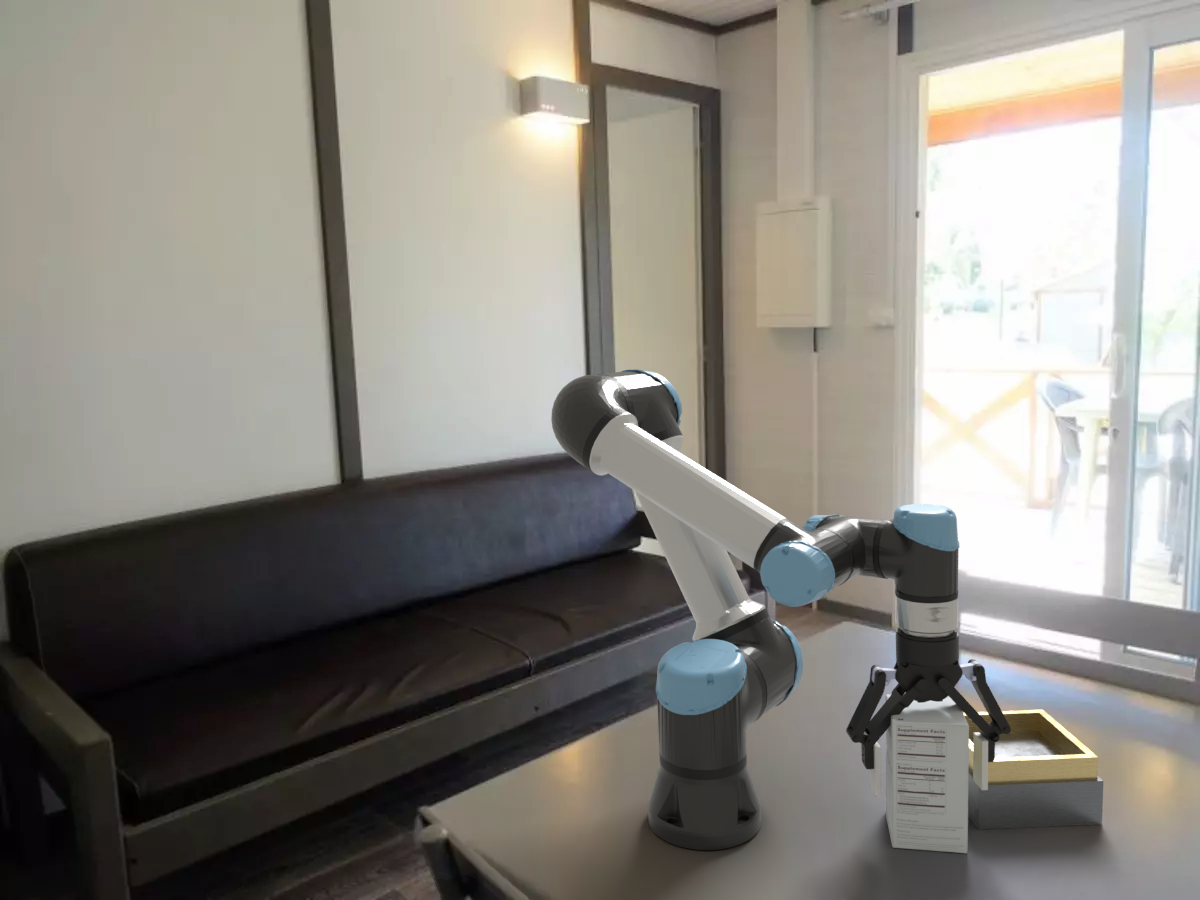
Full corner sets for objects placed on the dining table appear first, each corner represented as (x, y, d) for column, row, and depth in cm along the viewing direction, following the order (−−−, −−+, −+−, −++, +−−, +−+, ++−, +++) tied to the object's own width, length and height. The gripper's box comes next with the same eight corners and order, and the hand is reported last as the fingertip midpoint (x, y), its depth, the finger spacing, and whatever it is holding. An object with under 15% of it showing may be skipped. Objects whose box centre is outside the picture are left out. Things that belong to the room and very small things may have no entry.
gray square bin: (978, 829, 121) (979, 763, 120) (934, 770, 137) (934, 712, 136) (1101, 824, 121) (1104, 758, 120) (1042, 766, 137) (1044, 707, 136)
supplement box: (969, 855, 116) (971, 726, 113) (891, 849, 118) (891, 722, 115) (956, 815, 125) (957, 694, 123) (884, 810, 127) (884, 691, 125)
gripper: (835, 643, 114) (839, 808, 116) (1039, 632, 114) (1038, 796, 117) (820, 624, 121) (824, 780, 124) (1011, 613, 121) (1011, 769, 124)
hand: (928, 788), depth 120 cm, fingers open, 13 cm apart
